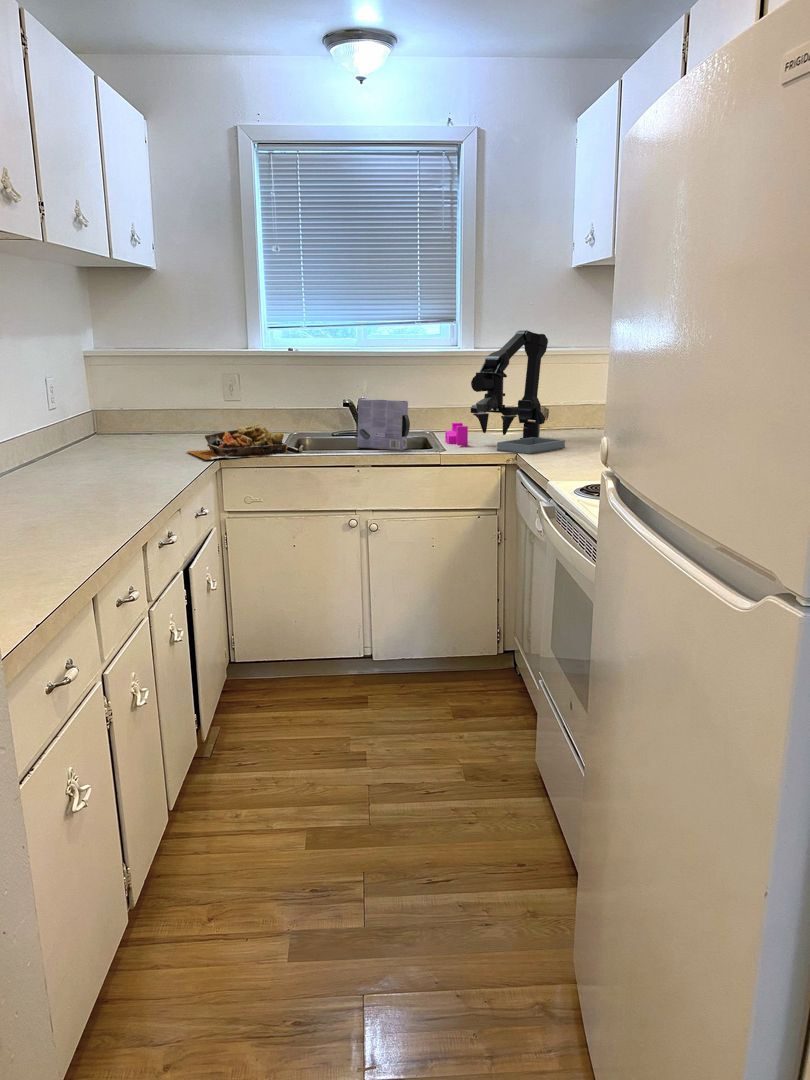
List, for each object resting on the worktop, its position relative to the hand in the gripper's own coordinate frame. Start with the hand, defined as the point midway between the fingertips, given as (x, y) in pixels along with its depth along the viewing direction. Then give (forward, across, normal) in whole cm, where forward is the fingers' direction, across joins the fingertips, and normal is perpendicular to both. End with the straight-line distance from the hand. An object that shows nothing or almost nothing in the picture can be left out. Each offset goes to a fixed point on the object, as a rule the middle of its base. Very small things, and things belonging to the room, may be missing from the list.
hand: (494, 433), depth 293 cm
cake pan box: (+5, -25, -32) cm, 41 cm away
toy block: (+5, -15, -4) cm, 16 cm away
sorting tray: (+4, +16, +1) cm, 17 cm away
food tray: (+6, -54, -72) cm, 90 cm away
